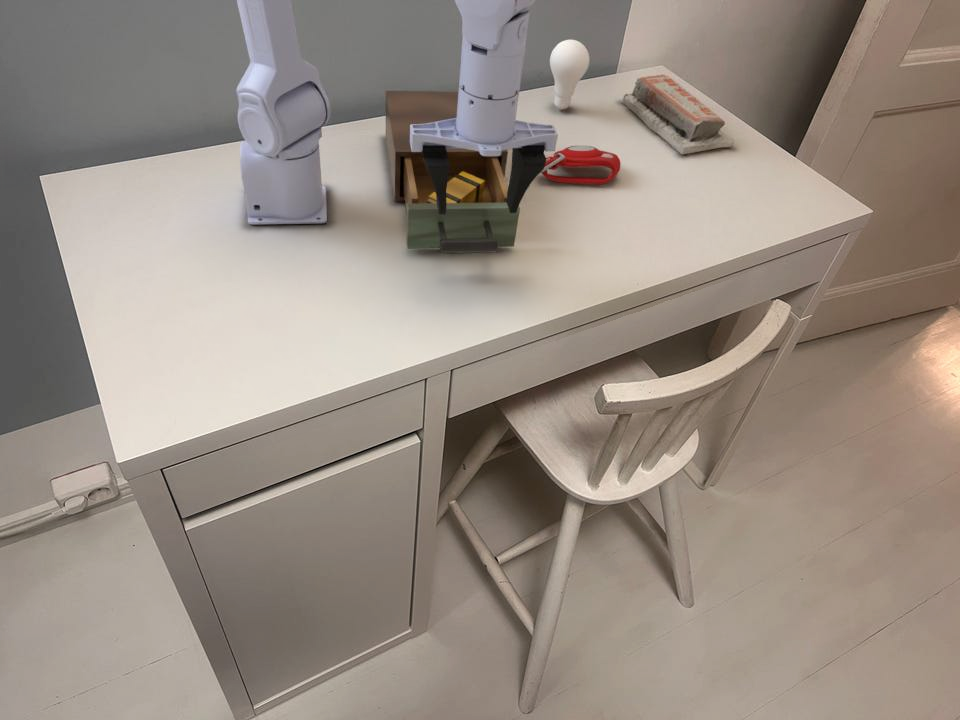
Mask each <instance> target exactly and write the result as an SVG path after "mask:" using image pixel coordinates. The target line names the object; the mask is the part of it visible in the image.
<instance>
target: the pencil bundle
mask: <svg viewBox="0 0 960 720" xmlns="http://www.w3.org/2000/svg"><path fill="white" fill-rule="evenodd" d="M484 183H485V181H484V180H482V179H480V178H478V177H475V176H473V175H471V174H468V173H466V172H464V171H462V172H461V173H460V174H456V175H454V178H453V179H451V180H450V181H449V182H447V189H446V203H482V201H483V192H484ZM427 203H437V199H436V191H435V190H434V193H432V194H431V195H430V196H429V197H428V200H427Z"/></svg>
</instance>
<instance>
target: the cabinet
mask: <svg viewBox="0 0 960 720" xmlns="http://www.w3.org/2000/svg"><path fill="white" fill-rule="evenodd" d="M458 92H459V91H429V90H428V91H427V90H426V91H425V90H417V91H416V90H385V144H386V152H387V157H388V167H389V172H390V179H391V186H392V193H393V200H394V202H395V203H405V198H404V192H403V186H402V180H401V162H402V156H422V152H412V151H411V146H410V125H411V124H426V123H432V122H437V121H442V120H448V119H453V118H457V105H458ZM446 150H447V153H448V156H482V155H481V154H480V152H479V151H474V150H469V149H463V148H447V149H446ZM508 154H509V151H508V149H507V150H503V151H501V155H500V156H497V158H498V161H499V164H500V167H501V170H502V172H503V175H504V178H505V177H506V169H507V162H508V161H507V160H508Z"/></svg>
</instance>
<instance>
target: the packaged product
mask: <svg viewBox="0 0 960 720" xmlns="http://www.w3.org/2000/svg"><path fill="white" fill-rule="evenodd" d="M634 84H635V86H634V88H633V89H632V93H625V94H624V95H623V97H622V103H623V104H624V106H626V107H627V108H628V109H630V110H631V112H633V113H634V114H635V115H636V116H637V117H638V118H639V119H640V120H641V121H642V122H643V123H644V124H645V125H646V126H647V127H648V129H650V130H651V131H653V132H654V133H656V134H657V135H658V136H660V137H661V138H662V139H663V140H664V141H665V142H666V143H667V144H669V145H670V146H671V147H672V148H674V149H675V150H676V151H677V152H678V153H679V154H680V155H688V154H694V153H698V152H703V151H709V150H714V149H715V150H716V149H720V148H731V147H732V146H733V144H734V142H735V140H733V139H732V138H730V137H729V136H728V134H727V133H725V132H724V131H722V130H721V129H722V128H723V127H724V126H725V125H726V122H725V120H723V118H722V117H720V116H719V115H718V114H717V113H716V112H714V111H713V110H711V108H709V107H707V106H706V105H705V104H704V103H703V102H701V101H700V100H699V98H697V97H696V96H694V95H693V94H692V93H691V92H689V91H688V90H687V89H686V88H684V87H683V86H682V85H681V84H679V83H678V82H677V81H675V79H673V77H670V76H669V75H665V74H657V75H647V76H641V77H639V78H637V79H636V81H635V83H634Z"/></svg>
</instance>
